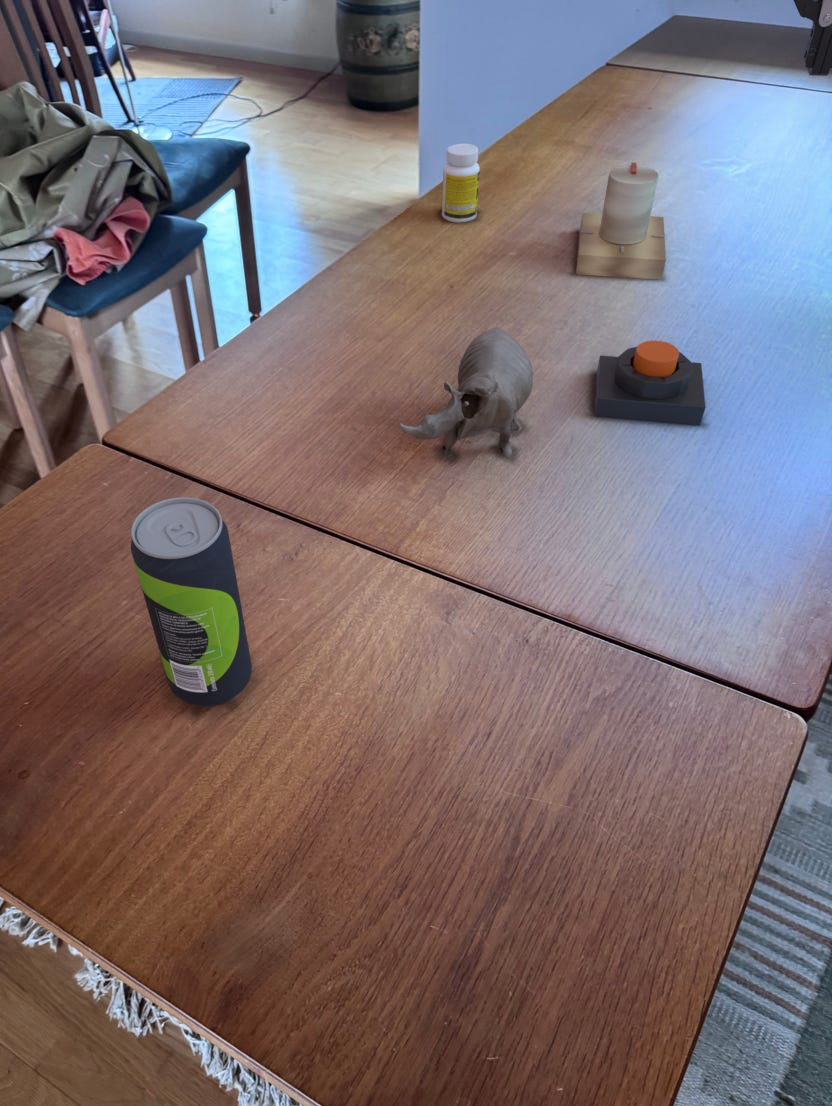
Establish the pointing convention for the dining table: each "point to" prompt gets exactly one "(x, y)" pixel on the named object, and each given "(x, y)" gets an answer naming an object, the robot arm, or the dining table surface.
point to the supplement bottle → (460, 183)
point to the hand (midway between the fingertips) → (817, 72)
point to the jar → (628, 204)
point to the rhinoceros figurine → (483, 393)
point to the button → (655, 358)
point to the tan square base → (620, 251)
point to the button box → (649, 391)
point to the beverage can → (192, 599)
